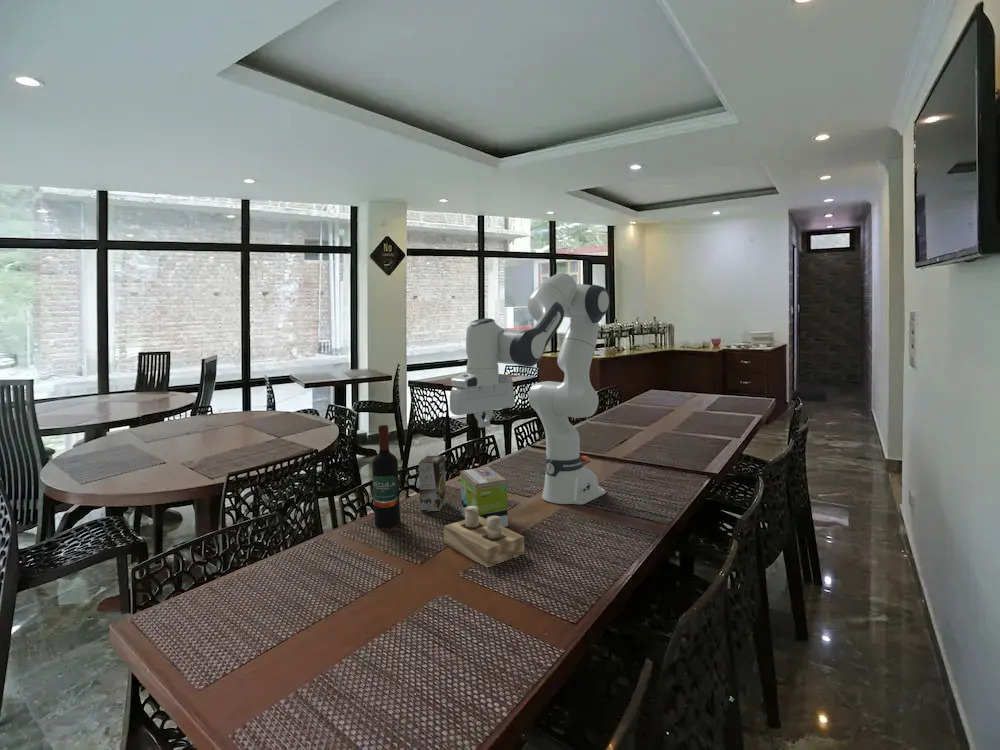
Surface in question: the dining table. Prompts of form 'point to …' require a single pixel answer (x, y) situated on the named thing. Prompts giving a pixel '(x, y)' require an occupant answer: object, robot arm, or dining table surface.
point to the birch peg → (494, 528)
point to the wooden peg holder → (482, 540)
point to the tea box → (484, 493)
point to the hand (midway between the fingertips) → (483, 426)
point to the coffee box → (432, 483)
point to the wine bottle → (385, 484)
